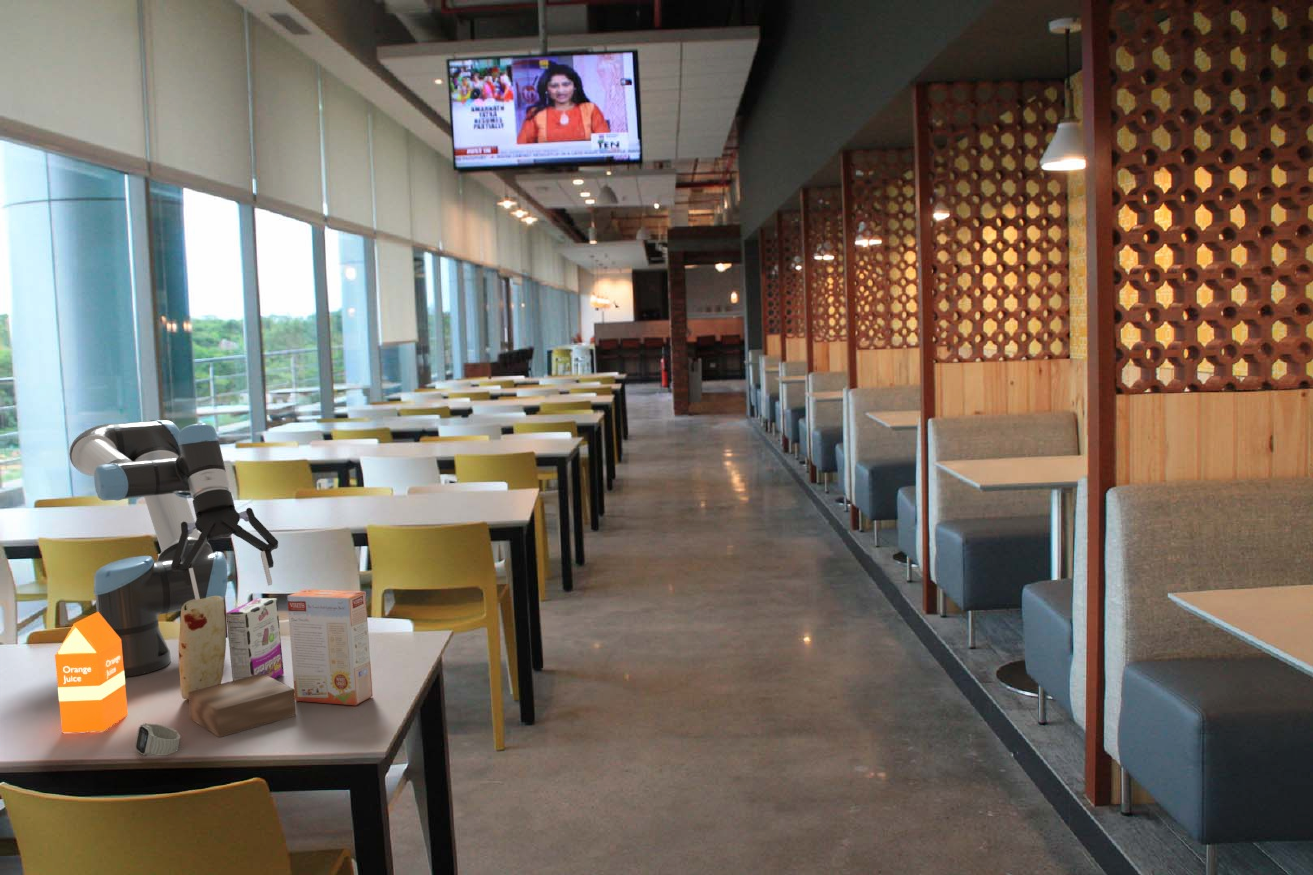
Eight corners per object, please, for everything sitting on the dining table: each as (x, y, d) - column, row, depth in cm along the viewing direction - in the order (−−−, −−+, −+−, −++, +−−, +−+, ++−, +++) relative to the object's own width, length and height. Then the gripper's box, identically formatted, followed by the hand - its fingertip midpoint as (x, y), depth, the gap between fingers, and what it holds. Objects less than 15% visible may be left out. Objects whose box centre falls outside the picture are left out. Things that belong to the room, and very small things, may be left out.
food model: (193, 708, 201) (193, 611, 196) (169, 698, 204) (168, 602, 199) (234, 688, 210) (234, 595, 205) (210, 679, 212) (210, 586, 208)
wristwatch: (129, 748, 181) (126, 720, 180) (166, 737, 186) (163, 710, 185) (152, 761, 175) (149, 732, 174) (189, 749, 180) (187, 721, 179)
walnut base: (190, 718, 194) (188, 692, 194) (264, 698, 204) (262, 673, 203) (219, 737, 184) (217, 709, 184) (296, 715, 194) (294, 688, 193)
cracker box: (374, 696, 203) (367, 590, 201) (355, 707, 197) (348, 597, 195) (313, 691, 207) (306, 587, 205) (293, 701, 202) (285, 594, 200)
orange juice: (61, 733, 189) (50, 625, 187) (87, 716, 198) (77, 612, 196) (104, 731, 189) (94, 623, 187) (129, 714, 198) (119, 610, 196)
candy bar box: (262, 674, 219) (256, 597, 218) (284, 675, 218) (278, 597, 217) (231, 692, 208) (224, 611, 207) (254, 693, 207) (247, 611, 206)
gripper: (143, 502, 207) (165, 603, 201) (274, 475, 218) (299, 570, 211) (147, 515, 214) (168, 613, 207) (274, 488, 224) (298, 581, 218)
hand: (234, 592), depth 209 cm, fingers open, 13 cm apart
